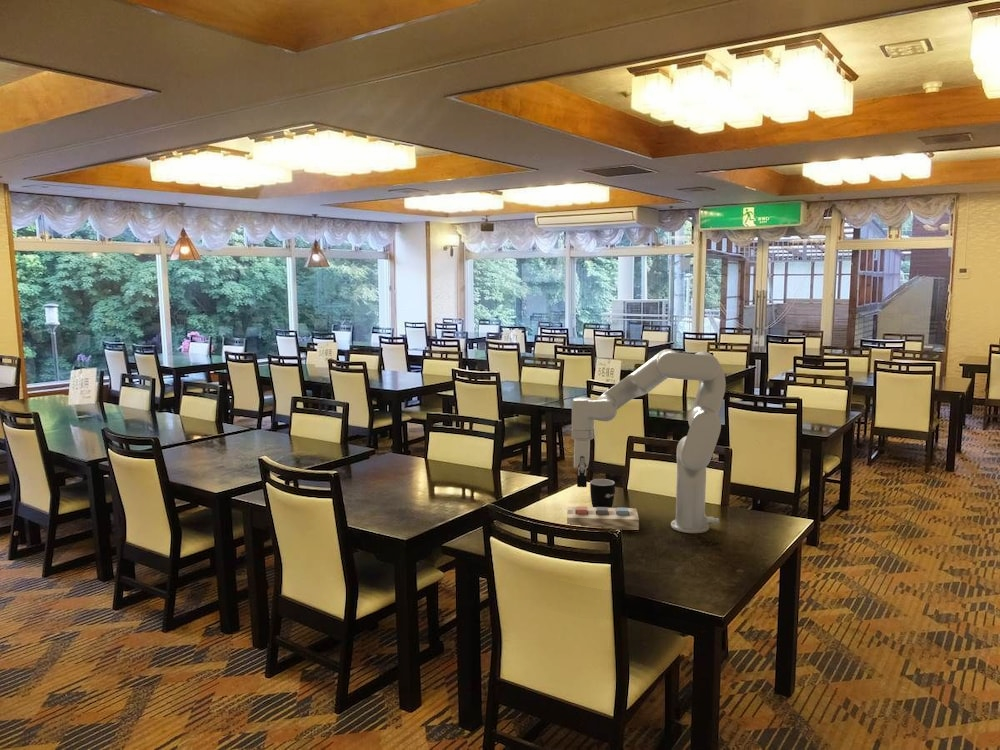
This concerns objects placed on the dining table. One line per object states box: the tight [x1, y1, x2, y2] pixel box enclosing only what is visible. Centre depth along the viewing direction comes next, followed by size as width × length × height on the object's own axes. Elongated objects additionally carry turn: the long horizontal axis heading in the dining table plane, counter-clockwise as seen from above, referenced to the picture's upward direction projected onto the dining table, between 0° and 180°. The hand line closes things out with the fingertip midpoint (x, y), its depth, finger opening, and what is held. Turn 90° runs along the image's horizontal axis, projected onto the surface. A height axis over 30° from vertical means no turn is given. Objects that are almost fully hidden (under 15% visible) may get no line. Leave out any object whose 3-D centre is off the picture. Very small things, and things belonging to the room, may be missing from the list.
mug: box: [589, 478, 616, 508], centre depth 267 cm, size 12×9×10 cm
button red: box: [576, 505, 588, 514], centre depth 250 cm, size 4×4×3 cm
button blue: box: [616, 507, 629, 516], centre depth 248 cm, size 4×4×3 cm
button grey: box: [597, 507, 608, 515], centre depth 249 cm, size 4×4×3 cm
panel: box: [566, 506, 640, 532], centre depth 249 cm, size 24×12×4 cm, turn 84°
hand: (581, 482), depth 249 cm, fingers open, 8 cm apart
